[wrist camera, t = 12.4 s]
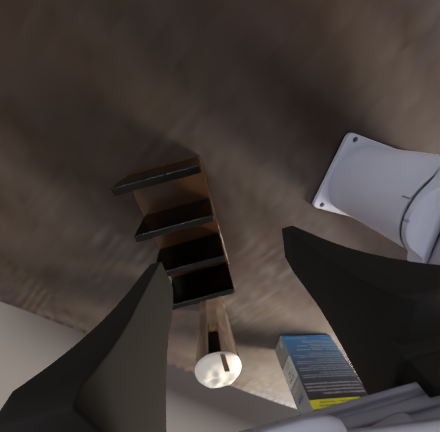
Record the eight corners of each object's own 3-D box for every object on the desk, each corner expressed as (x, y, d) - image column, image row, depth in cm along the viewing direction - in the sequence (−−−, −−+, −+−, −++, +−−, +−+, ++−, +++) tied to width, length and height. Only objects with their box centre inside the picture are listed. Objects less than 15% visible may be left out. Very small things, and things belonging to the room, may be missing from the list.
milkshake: (232, 286, 27) (253, 370, 18) (224, 316, 29) (239, 405, 20) (197, 284, 26) (200, 372, 17) (192, 315, 28) (192, 407, 19)
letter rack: (127, 173, 19) (107, 189, 15) (199, 154, 19) (201, 164, 15) (173, 276, 25) (168, 311, 20) (228, 261, 25) (236, 292, 20)
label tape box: (273, 349, 33) (314, 463, 22) (280, 332, 32) (327, 446, 21) (321, 348, 35) (382, 454, 24) (330, 332, 33) (400, 437, 22)
